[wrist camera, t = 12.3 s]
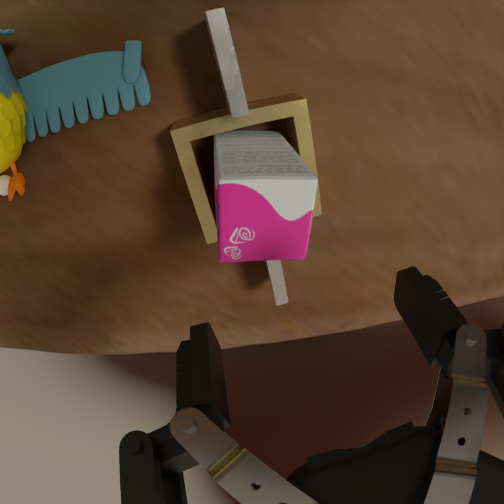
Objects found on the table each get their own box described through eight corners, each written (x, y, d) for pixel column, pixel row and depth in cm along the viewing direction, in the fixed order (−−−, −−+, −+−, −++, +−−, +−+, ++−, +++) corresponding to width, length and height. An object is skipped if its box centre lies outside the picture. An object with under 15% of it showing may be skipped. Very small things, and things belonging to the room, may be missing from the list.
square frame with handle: (148, 35, 20) (137, 31, 16) (275, 7, 20) (291, -3, 16) (226, 284, 36) (231, 317, 32) (317, 260, 36) (332, 290, 32)
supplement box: (210, 129, 26) (217, 176, 16) (279, 129, 27) (325, 176, 17) (210, 190, 29) (218, 266, 20) (274, 189, 30) (311, 261, 21)
